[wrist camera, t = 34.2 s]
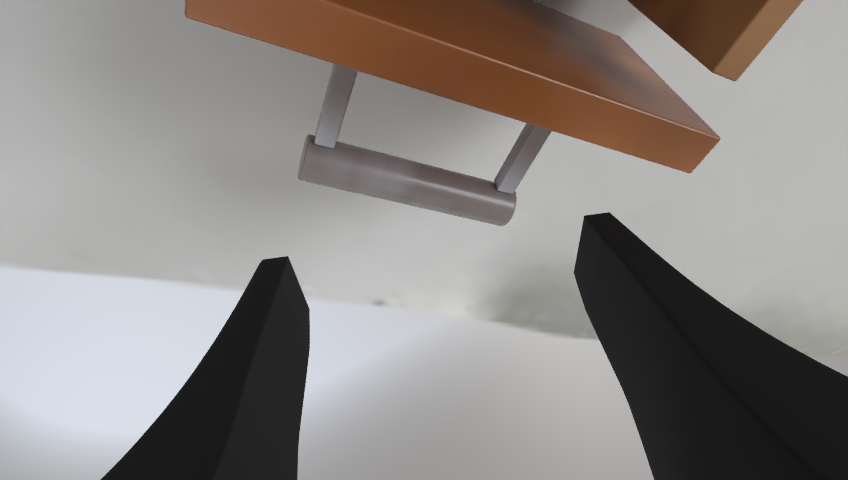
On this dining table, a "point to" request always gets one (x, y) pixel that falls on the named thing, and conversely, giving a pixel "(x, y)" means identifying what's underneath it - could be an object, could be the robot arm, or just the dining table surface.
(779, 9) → the drawer
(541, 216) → the dining table surface
